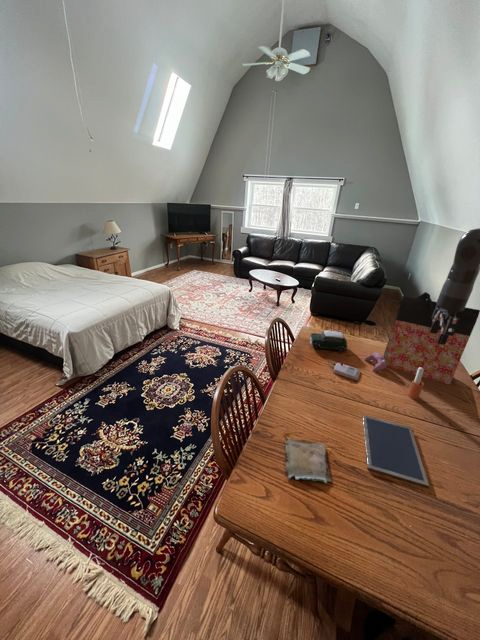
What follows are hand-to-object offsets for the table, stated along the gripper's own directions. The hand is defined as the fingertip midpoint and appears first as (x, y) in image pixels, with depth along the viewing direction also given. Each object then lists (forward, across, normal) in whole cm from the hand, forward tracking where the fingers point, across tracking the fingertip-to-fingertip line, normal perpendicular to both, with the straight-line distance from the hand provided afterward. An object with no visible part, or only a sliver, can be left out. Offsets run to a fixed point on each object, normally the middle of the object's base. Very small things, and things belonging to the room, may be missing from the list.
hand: (436, 338), depth 92 cm
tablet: (+26, -29, +12) cm, 41 cm away
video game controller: (+26, +17, +12) cm, 34 cm away
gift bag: (+26, +22, -3) cm, 35 cm away
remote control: (+26, +7, +25) cm, 37 cm away
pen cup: (+26, 0, 0) cm, 26 cm away
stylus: (+26, 0, 0) cm, 26 cm away
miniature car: (+26, +27, +33) cm, 50 cm away
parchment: (+26, -43, +36) cm, 62 cm away
